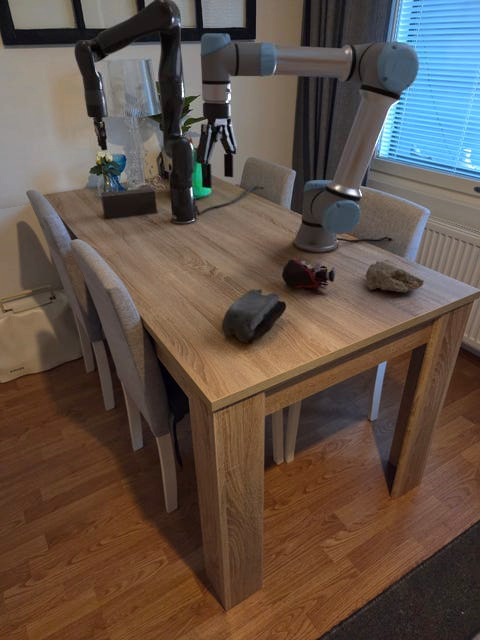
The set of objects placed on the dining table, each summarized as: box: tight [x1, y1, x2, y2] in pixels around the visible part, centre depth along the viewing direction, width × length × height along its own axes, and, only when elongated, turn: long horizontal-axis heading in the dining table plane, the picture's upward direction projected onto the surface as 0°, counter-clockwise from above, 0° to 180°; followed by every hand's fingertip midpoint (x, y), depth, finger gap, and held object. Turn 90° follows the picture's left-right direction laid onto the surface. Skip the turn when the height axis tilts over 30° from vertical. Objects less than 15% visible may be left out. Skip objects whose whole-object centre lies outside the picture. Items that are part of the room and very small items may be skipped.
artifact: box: [365, 259, 424, 293], centre depth 134 cm, size 18×8×15 cm
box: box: [100, 187, 158, 220], centre depth 190 cm, size 22×6×10 cm, turn 112°
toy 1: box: [168, 137, 212, 200], centre depth 210 cm, size 20×20×25 cm
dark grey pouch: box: [221, 289, 287, 345], centre depth 112 cm, size 18×11×8 cm, turn 152°
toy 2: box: [281, 258, 336, 295], centre depth 131 cm, size 12×9×15 cm
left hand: (102, 148), depth 176 cm, fingers open, 8 cm apart
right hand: (218, 182), depth 130 cm, fingers open, 13 cm apart
